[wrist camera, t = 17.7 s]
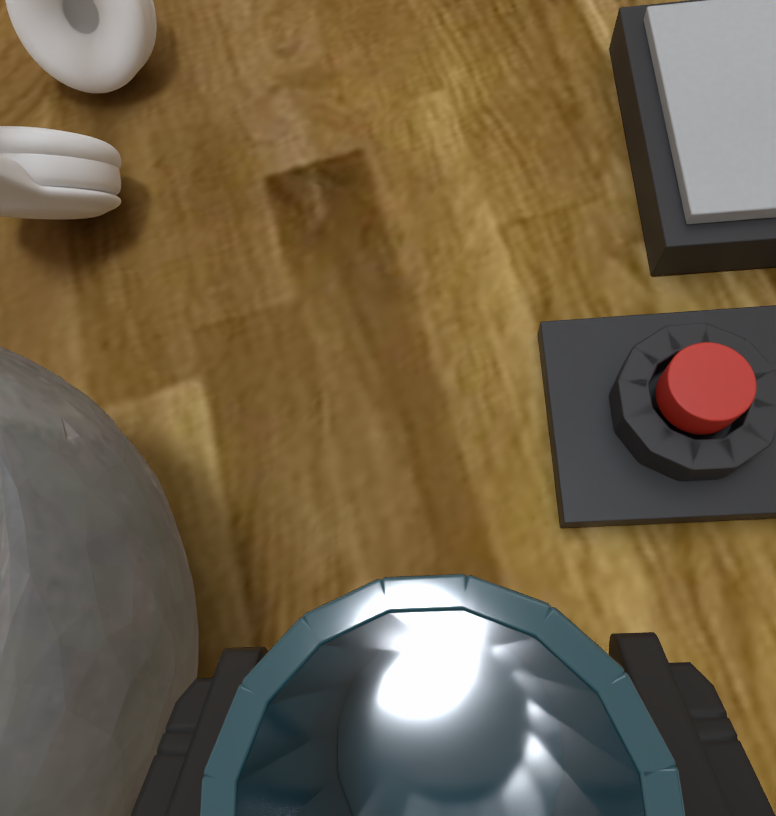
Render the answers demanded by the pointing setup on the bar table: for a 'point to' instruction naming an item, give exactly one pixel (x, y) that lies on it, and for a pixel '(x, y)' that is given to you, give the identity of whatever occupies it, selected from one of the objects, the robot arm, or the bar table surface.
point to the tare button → (705, 388)
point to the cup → (438, 714)
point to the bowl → (83, 603)
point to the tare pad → (655, 421)
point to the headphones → (82, 70)
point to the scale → (701, 130)
